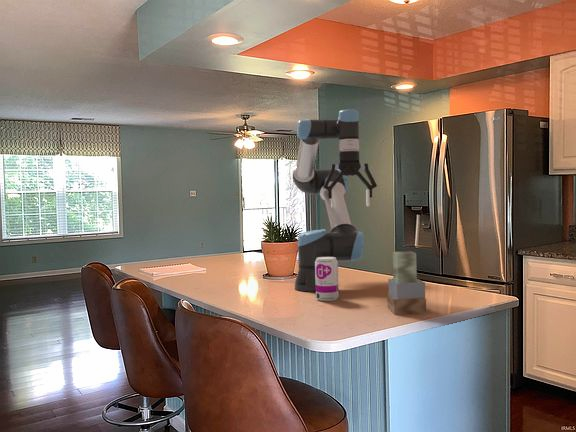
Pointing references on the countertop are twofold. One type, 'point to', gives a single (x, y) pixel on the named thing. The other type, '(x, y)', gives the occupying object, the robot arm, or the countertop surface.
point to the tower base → (406, 306)
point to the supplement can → (326, 278)
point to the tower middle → (406, 289)
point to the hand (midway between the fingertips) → (350, 207)
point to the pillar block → (404, 266)
